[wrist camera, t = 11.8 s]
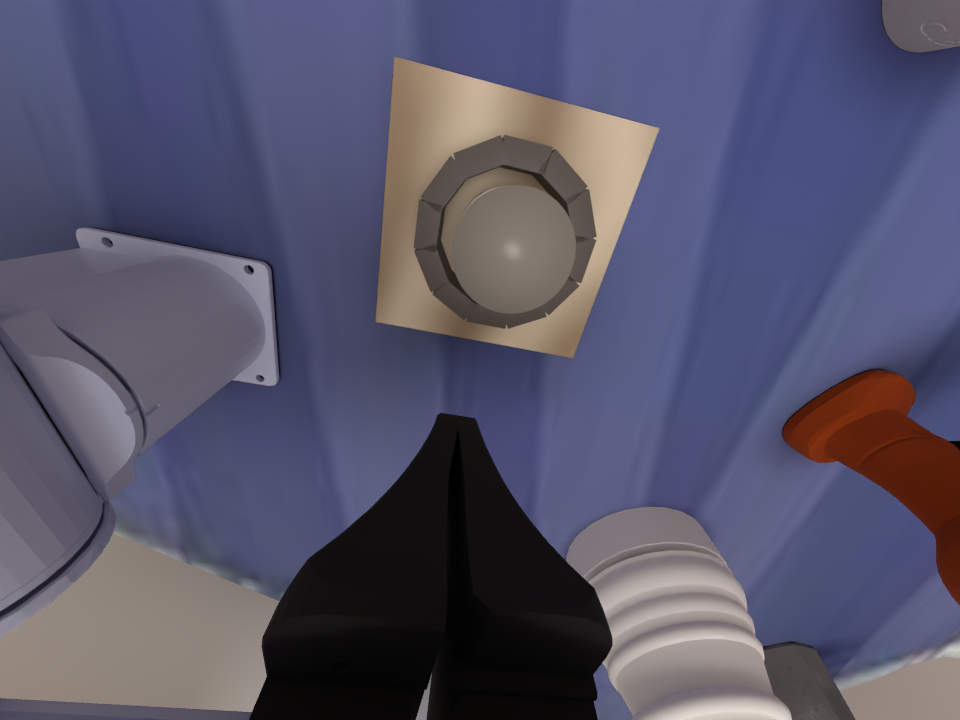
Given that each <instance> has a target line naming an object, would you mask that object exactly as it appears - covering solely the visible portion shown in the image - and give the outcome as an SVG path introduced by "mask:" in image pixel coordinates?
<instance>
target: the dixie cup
mask: <svg viewBox="0 0 960 720" xmlns="http://www.w3.org/2000/svg"><path fill="white" fill-rule="evenodd" d="M882 18H883V24H884V27H885V30H886V33H887V35H888V36H889V38H890V39H891V41H892V42H893V43H894V44H895V45H896V46H898V47H899V48H901V49H903V50H905V51H909V52H916V53H920V52H929V51H935V50H940V49H946V48H952V47H958V46H960V0H882Z"/></svg>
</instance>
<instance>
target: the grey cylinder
mask: <svg viewBox="0 0 960 720" xmlns="http://www.w3.org/2000/svg"><path fill="white" fill-rule="evenodd" d="M575 253H576V239H575V233H574V229H573V226H572V223H571V221H570V218H569V216H568V214H567V213H566V211H565V210H564V208H563V207H562V206H561V205H560V204H559V203H558V202H557V201H556V200H555V199H554V198H553V197H552V196H550V195H548V194H547V193H545V192H544V191H541V190H539V189H537V188H533V187H529V186H523V185H509V186H497V187H492V188H490V189H487V190H485V191H483V192H481V193H480V194H478V195H477V196H476V197H475V198H474V199H473V200H472V201H471V202H470V203H469V204H468V206H467V208H466V209H465V211H464V213H463V215H462V217H461V219H460V221H459V223H458V225H457V228H456V231H455V234H454V238H453V243H452V262H453V267H454V271H455V274H456V277H457V279H458V281H459V283H460V285H461V286H462V288H463V289H464V291H465V292H466V293H467V294H468V295H469V296H470V297H471V298H472V299H473V300H474V301H475V302H477V303H478V304H480V305H481V306H483V307H485V308H487V309H489V310H492V311H495V312H500V313H507V314H514V313H522V312H527V311H530V310H533V309H535V308H538V307H540V306H541V305H543V304H545V303H546V302H548V301H549V300H550V299H552V298H553V297H554V296H555V295H556V294H557V293H558V292H559V291H560V289H561V288H562V287H563V285H564V284H565V282H566V281H567V279H568V277H569V275H570V273H571V270H572V267H573V264H574V260H575Z"/></svg>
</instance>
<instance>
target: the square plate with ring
mask: <svg viewBox="0 0 960 720" xmlns="http://www.w3.org/2000/svg"><path fill="white" fill-rule="evenodd" d="M658 131H659V128H656V127H652V126H649V125H645V124H641V123H638V122H634V121H630V120H626V119H623V118H619V117H615V116H612V115H608V114H604V113H601V112H597V111H593V110H590V109H586V108H582V107H579V106H575V105H571V104H567V103H564V102H560V101H556V100H553V99H549V98H545V97H542V96H538V95H534V94H531V93H527V92H523V91H520V90H516V89H512V88H508V87H505V86H501V85H497V84H494V83H490V82H486V81H483V80H479V79H475V78H472V77H468V76H464V75H461V74H457V73H453V72H449V71H446V70H442V69H438V68H435V67H431V66H427V65H424V64H420V63H416V62H413V61H409V60H405V59H402V58H398V57H394V70H393V84H392V98H391V112H390V126H389V140H388V154H387V168H386V182H385V196H384V210H383V224H382V238H381V252H380V266H379V279H378V293H377V307H376V321H375V322H379V323H385V324H390V325H396V326H401V327H407V328H412V329H418V330H423V331H428V332H434V333H439V334H445V335H450V336H456V337H461V338H467V339H472V340H477V341H483V342H488V343H494V344H499V345H505V346H510V347H515V348H521V349H526V350H532V351H537V352H543V353H548V354H554V355H559V356H564V357H570V358H573V357H574V354H575V351H576V349H577V346H578V343H579V341H580V338H581V335H582V333H583V330H584V327H585V325H586V322H587V319H588V317H589V314H590V311H591V309H592V306H593V303H594V301H595V298H596V296H597V293H598V290H599V288H600V285H601V282H602V280H603V277H604V274H605V272H606V269H607V266H608V264H609V261H610V258H611V256H612V253H613V250H614V248H615V245H616V242H617V240H618V237H619V235H620V232H621V229H622V227H623V224H624V221H625V219H626V216H627V213H628V211H629V208H630V205H631V203H632V200H633V197H634V195H635V192H636V189H637V187H638V184H639V181H640V179H641V176H642V174H643V171H644V168H645V166H646V163H647V160H648V158H649V155H650V152H651V150H652V147H653V144H654V142H655V139H656V136H657V134H658ZM509 185H523V186H529V187H533V188H537V189H539V190H541V191H544V192H545V193H547V194H548V195H550V196H552V197H553V198H554V199H555V200H556V201H557V202H558V203H559V204H560V205H561V206H562V207H563V208H564V210H565V211H566V213H567V214H568V216H569V218H570V221H571V223H572V226H573V229H574V233H575V239H576V253H575V260H574V264H573V267H572V270H571V273H570V275H569V277H568V279H567V281H566V282H565V284H564V285H563V287H562V288H561V289H560V291H559V292H558V293H557V294H556V295H555V296H554V297H553V298H552V299H550V300H549V301H548V302H546V303H545V304H543V305H541V306H540V307H538V308H535V309H533V310H530V311H527V312H522V313H514V314H507V313H500V312H495V311H492V310H489V309H487V308H485V307H483V306H481V305H480V304H478V303H477V302H475V301H474V300H473V299H472V298H471V297H470V296H469V295H468V294H467V293H466V292H465V291H464V289H463V288H462V286H461V285H460V283H459V281H458V279H457V277H456V274H455V271H454V267H453V262H452V243H453V238H454V234H455V231H456V228H457V225H458V223H459V221H460V219H461V217H462V215H463V213H464V211H465V209H466V208H467V206H468V204H469V203H470V202H471V201H472V200H473V199H474V198H475V197H476V196H477V195H478V194H480V193H481V192H483V191H485V190H487V189H490V188H492V187H497V186H509Z"/></svg>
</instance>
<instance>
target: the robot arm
mask: <svg viewBox="0 0 960 720" xmlns="http://www.w3.org/2000/svg"><path fill="white" fill-rule="evenodd" d="M76 237H77V240H78V243H79V246H80V248H77V249H71V250H65V251H58V252H52V253H46V254H40V255H34V256H28V257H22V258H15V259H9V260H3V261H0V637H2V636H3V635H5V634H6V633H8V632H9V631H11V630H13V629H14V628H16V627H17V626H19V625H20V624H22V623H23V622H25V621H27V620H28V619H29V618H31V617H32V616H34V615H35V614H36V613H38V612H39V611H40V610H42V609H43V608H44V607H46V606H47V605H48V604H50V603H51V602H53V601H54V600H55V599H56V598H57V597H58V596H59V595H61V594H62V593H63V592H64V591H66V590H67V589H68V588H69V587H70V586H71V585H72V584H73V583H74V582H76V581H77V580H78V578H79V577H81V575H83V574H84V573H85V572H86V571H87V569H89V567H90V566H91V565H92V564H93V563H94V561H95V560H96V559H97V558H98V557H99V555H100V554H101V553H102V551H103V550H104V548H105V547H106V545H107V544H108V542H109V540H110V538H111V536H112V533H113V531H114V527H115V521H116V516H115V511H114V508H113V506H112V505H111V503H110V502H109V501H110V500H111V499H112V498H113V497H114V496H116V495H117V494H118V493H119V492H120V491H121V490H122V489H124V488H125V487H126V486H127V485H128V484H129V483H130V482H132V481H133V480H134V479H135V478H136V475H135V473H134V470H133V462H134V460H135V458H136V457H138V456H139V455H140V454H141V453H143V452H144V451H145V450H146V449H148V448H149V447H150V446H151V445H152V444H154V443H155V442H156V441H157V440H159V439H160V438H161V437H162V436H164V435H165V434H166V433H167V432H168V431H170V430H171V429H172V428H173V427H175V426H176V425H177V424H178V423H180V422H181V421H182V420H183V419H184V418H186V417H187V416H188V415H189V414H191V413H192V412H193V411H194V410H196V409H197V408H198V407H199V406H200V405H202V404H203V403H204V402H205V401H207V400H208V399H209V398H210V397H212V396H213V395H214V394H215V393H216V392H218V391H219V390H220V389H221V388H223V387H224V386H225V385H226V384H228V383H229V382H230V381H231V380H235V381H241V382H248V383H254V384H260V385H267V386H273V385H275V384H276V383H277V382H278V381H279V367H278V354H277V340H276V327H275V313H274V299H273V286H272V272H271V268H270V267H269V265H267V264H266V263H265V262H262V261H258V260H253V259H248V258H243V257H238V256H233V255H227V254H222V253H217V252H212V251H207V250H202V249H197V248H192V247H187V246H182V245H177V244H171V243H166V242H161V241H156V240H151V239H146V238H141V237H136V236H131V235H126V234H120V233H115V232H110V231H105V230H100V229H95V228H90V227H85V228H79V229H77V231H76ZM109 239H110V240H111V241H112V243H113V245H112V244H111V243H110V241H109ZM248 265H250V266H252V268H253V269H254V273H253V272H251V271H250V270H249V269H248ZM260 375H261V376H263V377H264V379H263V378H261V377H260ZM612 646H613V638H612V635H611V631H610V628H609V625H608V622H607V618H606V616H605V613H604V610H603V608H602V605H601V603H600V600H599V598H598V596H597V593H596V591H595V588H594V587H593V586H592V585H591V584H589V583H588V582H587V581H586V580H585V579H584V578H583V577H582V576H581V575H580V574H579V573H578V572H577V571H576V570H575V569H574V568H573V567H571V566H570V565H569V564H568V563H567V562H566V561H565V560H564V559H563V558H562V557H561V556H560V555H559V553H558V552H557V551H556V550H555V549H554V548H553V547H552V546H551V545H550V544H549V543H548V542H547V540H546V539H545V538H544V537H543V536H542V534H541V533H540V532H539V531H538V530H537V528H536V527H535V526H534V525H533V524H532V522H531V521H530V520H529V518H528V517H527V516H526V514H525V513H524V512H523V510H522V509H521V508H520V506H519V505H518V503H517V502H516V500H515V499H514V497H513V496H512V494H511V493H510V491H509V489H508V488H507V486H506V484H505V483H504V481H503V479H502V477H501V476H500V474H499V472H498V470H497V468H496V466H495V464H494V462H493V460H492V458H491V456H490V454H489V452H488V449H487V447H486V445H485V442H484V440H483V438H482V435H481V432H480V429H479V426H478V423H477V421H476V419H475V418H470V417H463V416H457V415H451V414H444V413H440V414H438V415H437V418H436V421H435V424H434V426H433V428H432V430H431V432H430V434H429V436H428V438H427V439H426V441H425V443H424V444H423V446H422V448H421V449H420V451H419V452H418V454H417V455H416V456H415V458H414V459H413V461H412V462H411V463H410V465H409V466H408V467H407V469H406V470H405V471H404V472H403V474H402V475H401V476H400V477H399V479H398V480H397V481H396V482H395V483H394V484H393V485H392V487H391V488H390V489H389V490H388V491H387V492H386V493H385V494H384V495H383V496H382V497H381V498H380V499H379V500H378V501H377V502H376V503H375V504H374V505H373V506H372V507H371V508H370V509H369V510H368V511H367V512H366V513H365V514H363V515H362V516H361V517H360V518H359V519H358V520H357V521H355V522H354V523H353V524H352V525H351V526H350V527H349V528H347V529H346V530H345V531H344V532H343V533H341V534H340V535H339V536H338V537H336V538H335V539H334V540H332V541H331V542H330V543H328V544H327V545H326V546H324V547H323V548H322V549H320V550H319V551H318V552H316V553H315V554H314V555H312V556H311V557H310V558H309V559H308V560H307V561H306V562H305V564H304V565H303V567H302V568H301V569H300V571H299V572H298V573H297V575H296V576H295V578H294V579H293V581H292V582H291V584H290V585H289V587H288V588H287V590H286V592H285V593H284V595H283V597H282V598H281V600H280V602H279V604H278V606H277V608H276V610H275V612H274V614H273V616H272V619H271V620H270V623H269V625H268V627H267V629H266V631H265V634H264V636H263V639H262V651H263V657H264V662H265V668H266V674H267V678H266V680H265V683H264V685H263V687H262V690H261V692H260V695H259V697H258V700H257V702H256V704H255V706H254V709H253V712H237V711H219V710H200V709H181V708H165V707H147V706H128V705H111V704H92V703H75V702H57V701H55V702H54V701H37V700H21V699H3V698H2V699H1V698H0V720H416V716H417V713H418V710H419V707H420V703H421V700H422V696H423V694H424V690H426V689H427V686H428V683H429V680H430V676H431V673H432V678H431V687H430V695H429V703H428V712H427V720H598V719H597V714H596V710H595V706H594V702H593V701H595V700H596V699H597V690H596V686H595V681H594V677H593V674H594V673H595V671H596V670H597V669H598V668H599V666H600V665H601V664H602V663H603V661H604V660H605V659H606V657H607V656H608V654H609V652H610V650H611V648H612Z"/></svg>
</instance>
